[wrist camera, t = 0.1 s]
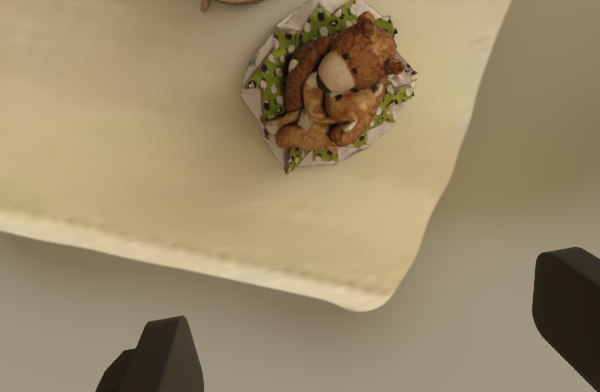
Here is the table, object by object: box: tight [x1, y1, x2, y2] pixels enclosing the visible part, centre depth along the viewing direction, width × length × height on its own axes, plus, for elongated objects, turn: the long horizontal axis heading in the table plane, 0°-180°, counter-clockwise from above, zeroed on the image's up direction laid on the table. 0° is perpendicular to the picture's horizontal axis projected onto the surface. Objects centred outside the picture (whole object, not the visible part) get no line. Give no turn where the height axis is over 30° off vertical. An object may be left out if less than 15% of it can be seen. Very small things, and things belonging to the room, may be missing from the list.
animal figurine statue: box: [241, 0, 417, 176], centre depth 30 cm, size 14×15×12 cm
